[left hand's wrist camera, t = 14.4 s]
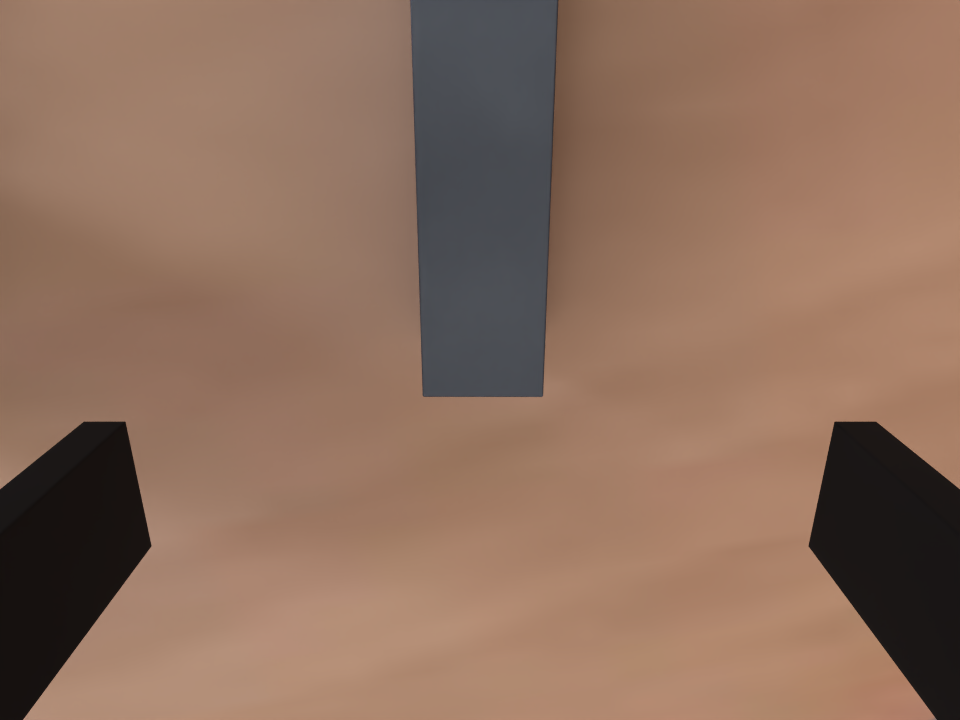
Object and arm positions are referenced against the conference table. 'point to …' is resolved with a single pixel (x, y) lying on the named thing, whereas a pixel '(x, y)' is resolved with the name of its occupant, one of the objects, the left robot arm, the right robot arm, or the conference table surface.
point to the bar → (483, 191)
